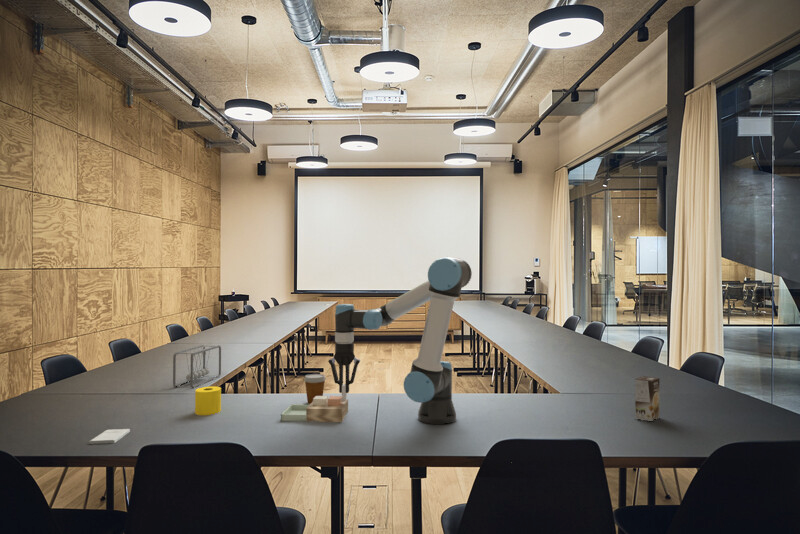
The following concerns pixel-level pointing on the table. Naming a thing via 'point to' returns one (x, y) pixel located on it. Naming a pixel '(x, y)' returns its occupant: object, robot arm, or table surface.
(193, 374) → the newton's cradle
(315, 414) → the tan wooden flat block
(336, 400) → the terracotta tile
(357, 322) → the robot arm
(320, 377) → the disposable coffee cup
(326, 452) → the table surface
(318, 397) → the cream tile
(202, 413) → the yellow toilet paper roll
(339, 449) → the table surface
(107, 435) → the external hard drive
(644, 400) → the coffee box
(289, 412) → the tray
